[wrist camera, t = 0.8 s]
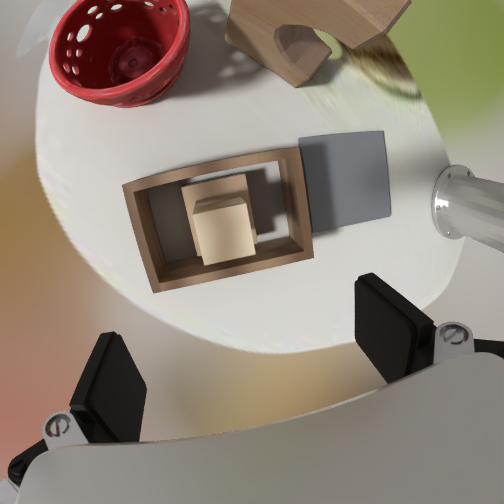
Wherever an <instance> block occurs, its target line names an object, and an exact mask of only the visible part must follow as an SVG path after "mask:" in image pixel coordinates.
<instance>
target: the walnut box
mask: <svg viewBox="0 0 504 504" xmlns="http://www.w3.org/2000/svg"><path fill="white" fill-rule="evenodd" d="M277 160H278V164H279V170H280V176H281V182H282V188H283V195H284V201H285V207H286V214H287V221H288V227H289V234H290V236H289V237H284V238H280V239H275V240H270V241H266V242H261V243H258V241H257V236H256V230H255V225H254V219H253V214H252V208H251V203H250V197H249V192H248V187H247V181H246V176H245V174H244V173H242V172H241V173H236V174H231V175H226V176H221V177H217V178H212V179H207V180H203V181H198V182H194V183H190V184H185V185H183V186H182V187H181V189H182V193H183V197H184V202H185V206H186V211H187V215H188V219H189V223H190V227H191V232H192V236H193V240H194V244H195V248H196V252H197V256H198V257H193V258H189V259H184V260H180V261H175V262H171V263H166V262H165V259H164V255H163V252H162V248H161V245H160V241H159V237H158V234H157V230H156V226H155V222H154V219H153V215H152V211H151V207H150V203H149V199H148V194H147V190H146V188H150V187H154V186H158V185H162V184H166V183H170V182H174V181H178V180H182V179H186V178H190V177H195V176H199V175H204V174H208V173H213V172H218V171H223V170H228V169H233V168H238V167H243V166H248V165H254V164H259V163H265V162H271V161H277ZM122 187H123V192H124V196H125V200H126V204H127V208H128V212H129V215H130V219H131V223H132V227H133V230H134V234H135V237H136V241H137V244H138V247H139V251H140V254H141V257H142V261H143V264H144V267H145V270H146V273H147V276H148V279H149V282H150V285H151V288H152V291H153V293H157V292H162V291H167V290H172V289H177V288H181V287H186V286H191V285H195V284H200V283H205V282H209V281H214V280H218V279H223V278H227V277H232V276H236V275H241V274H245V273H250V272H254V271H259V270H263V269H268V268H272V267H276V266H281V265H285V264H289V263H294V262H298V261H302V260H306V259H311V258H314V252H313V243H312V235H311V226H310V218H309V210H308V203H307V196H306V188H305V182H304V175H303V168H302V162H301V156H300V149H299V147H295V148H283V149H277V150H270V151H264V152H258V153H253V154H247V155H241V156H236V157H231V158H226V159H221V160H216V161H211V162H206V163H202V164H197V165H193V166H189V167H184V168H180V169H176V170H172V171H168V172H164V173H160V174H156V175H152V176H149V177H145V178H141V179H138V180H134V181H132V182H129V183H126V184H123V185H122ZM233 192H237V193H238V194H239V195H240V196H241V198H242V199H243V200H244V201H245V202H246V205H247V210H248V215H249V221H250V226H251V232H252V237H253V242H254V248H255V253H256V254H254V255H250V256H245V257H241V258H236V259H232V260H227V261H223V262H218V263H214V264H209V265H205V266H204V262H203V258H202V254H201V250H200V246H199V241H198V237H197V233H196V229H195V225H194V221H193V216H192V214H193V210H194V206H195V202H196V200H201V199H205V198H210V197H214V196H219V195H224V194H228V193H233Z"/></svg>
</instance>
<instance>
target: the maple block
mask: <svg viewBox="0 0 504 504" xmlns="http://www.w3.org/2000/svg"><path fill="white" fill-rule="evenodd" d="M192 216H193V221H194V225H195V229H196V233H197V237H198V241H199V246H200V250H201V254H202V258H203V262H204V266H205V265H209V264H214V263H218V262H223V261H227V260H232V259H236V258H241V257H245V256H250V255H254V254H256V253H255V248H254V242H253V237H252V232H251V226H250V221H249V215H248V210H247V205H246V202H245V201H244V200H243V199H242V198H241V196H240V195H239V194H238V193H237V192H233V193H228V194H224V195H219V196H214V197H210V198H205V199H201V200H196V202H195V206H194V210H193V214H192Z"/></svg>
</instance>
